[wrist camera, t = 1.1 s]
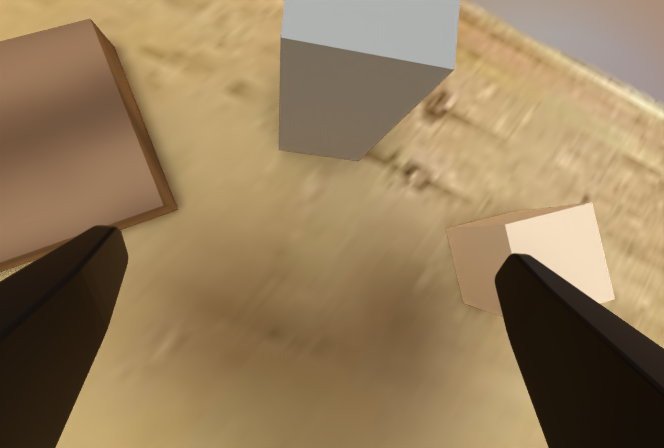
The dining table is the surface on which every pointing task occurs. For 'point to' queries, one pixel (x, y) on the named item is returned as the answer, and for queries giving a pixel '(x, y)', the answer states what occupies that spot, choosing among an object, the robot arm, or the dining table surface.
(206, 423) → the dining table surface
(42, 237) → the walnut slab
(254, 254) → the dining table surface
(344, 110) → the gray block
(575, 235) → the cream block
